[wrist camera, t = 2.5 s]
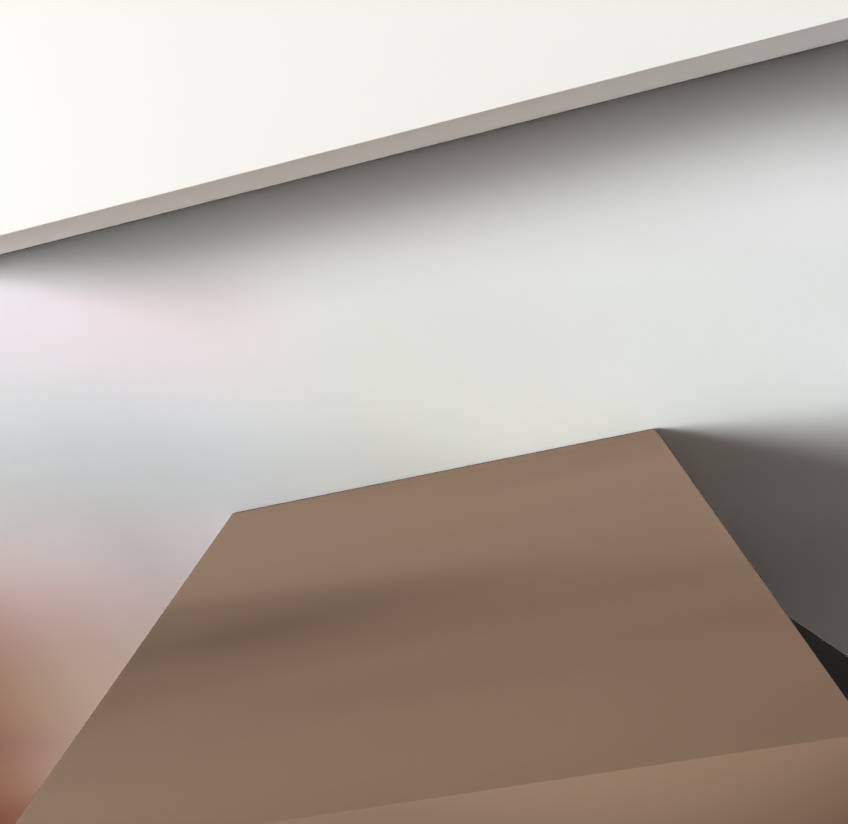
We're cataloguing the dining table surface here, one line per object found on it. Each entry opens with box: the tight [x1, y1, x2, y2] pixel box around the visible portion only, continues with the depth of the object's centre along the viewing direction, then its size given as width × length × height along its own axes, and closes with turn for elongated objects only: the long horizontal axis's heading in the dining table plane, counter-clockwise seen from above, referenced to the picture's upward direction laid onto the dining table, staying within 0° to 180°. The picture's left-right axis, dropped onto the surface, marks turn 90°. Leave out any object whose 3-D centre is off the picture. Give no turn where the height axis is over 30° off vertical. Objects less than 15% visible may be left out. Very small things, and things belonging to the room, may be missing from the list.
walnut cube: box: [15, 429, 848, 824], centre depth 7 cm, size 5×5×5 cm
